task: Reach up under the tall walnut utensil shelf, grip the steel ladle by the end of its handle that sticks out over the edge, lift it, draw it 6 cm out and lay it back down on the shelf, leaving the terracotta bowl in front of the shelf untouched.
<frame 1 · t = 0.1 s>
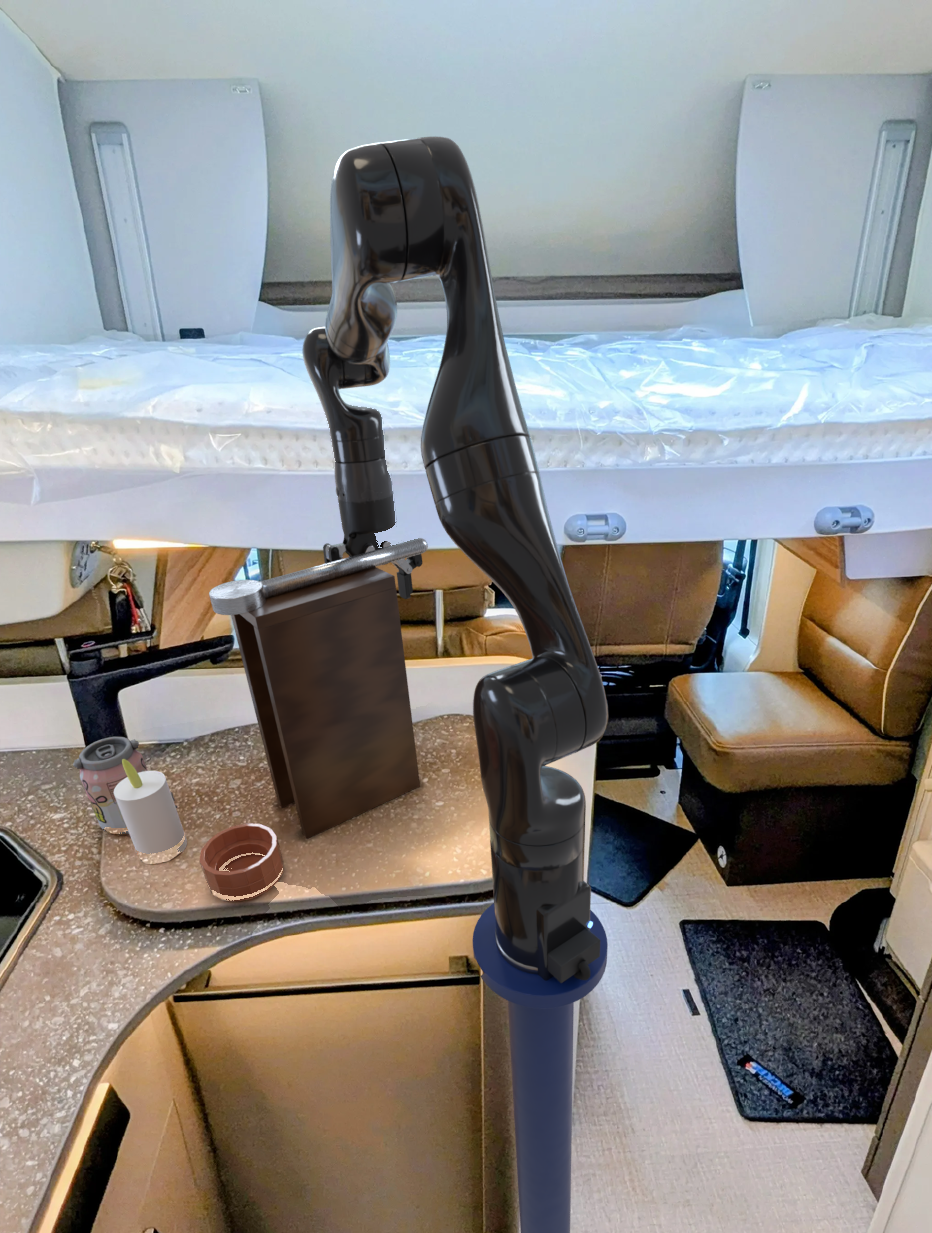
hand: (380, 605, 103), 23 cm above the worktop, tool pointing down, fingers open, 8 cm apart
candle: (164, 848, 95), on the worktop
ladle: (427, 551, 94), point 32 cm above the worktop, touching shelf
bowl: (247, 878, 88), on the worktop
shelf: (349, 794, 102), on the worktop
beverage can: (131, 818, 101), on the worktop
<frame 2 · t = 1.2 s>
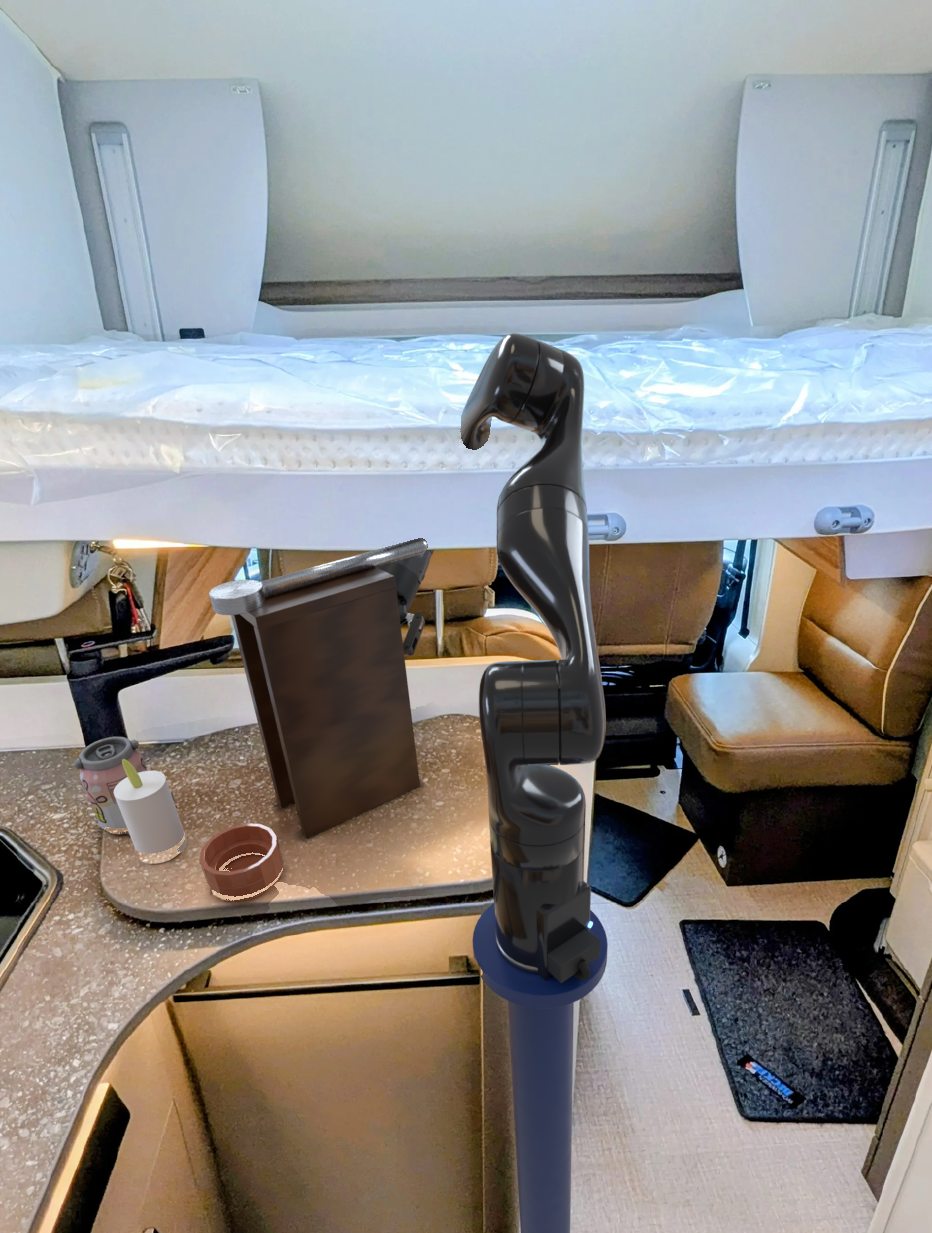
hand: (355, 666, 103), 16 cm above the worktop, tool tilted 50°, fingers open, 8 cm apart
nothing on the worktop moved.
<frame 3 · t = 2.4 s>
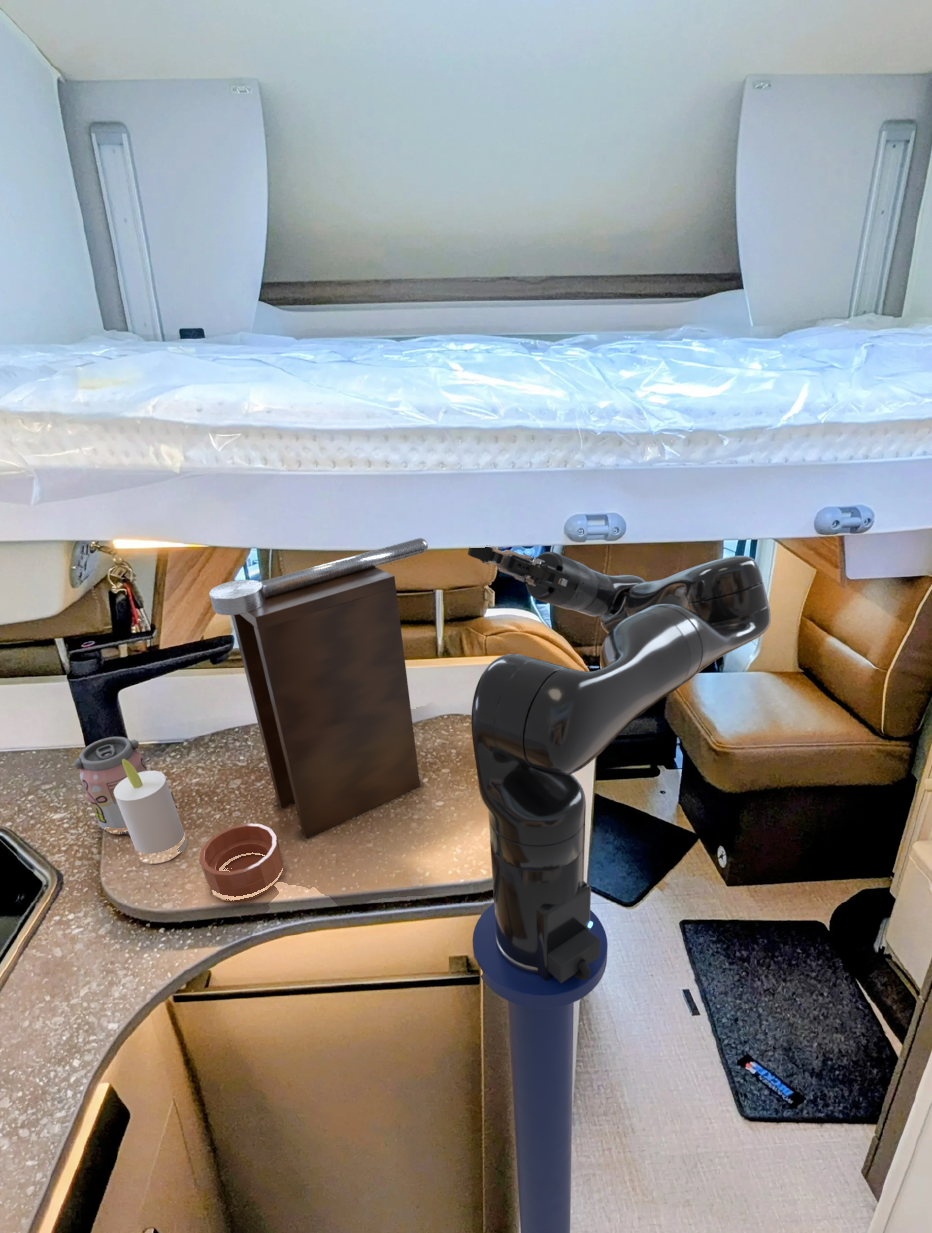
hand: (488, 554, 100), 29 cm above the worktop, tool pointing upward, fingers open, 8 cm apart
nothing on the worktop moved.
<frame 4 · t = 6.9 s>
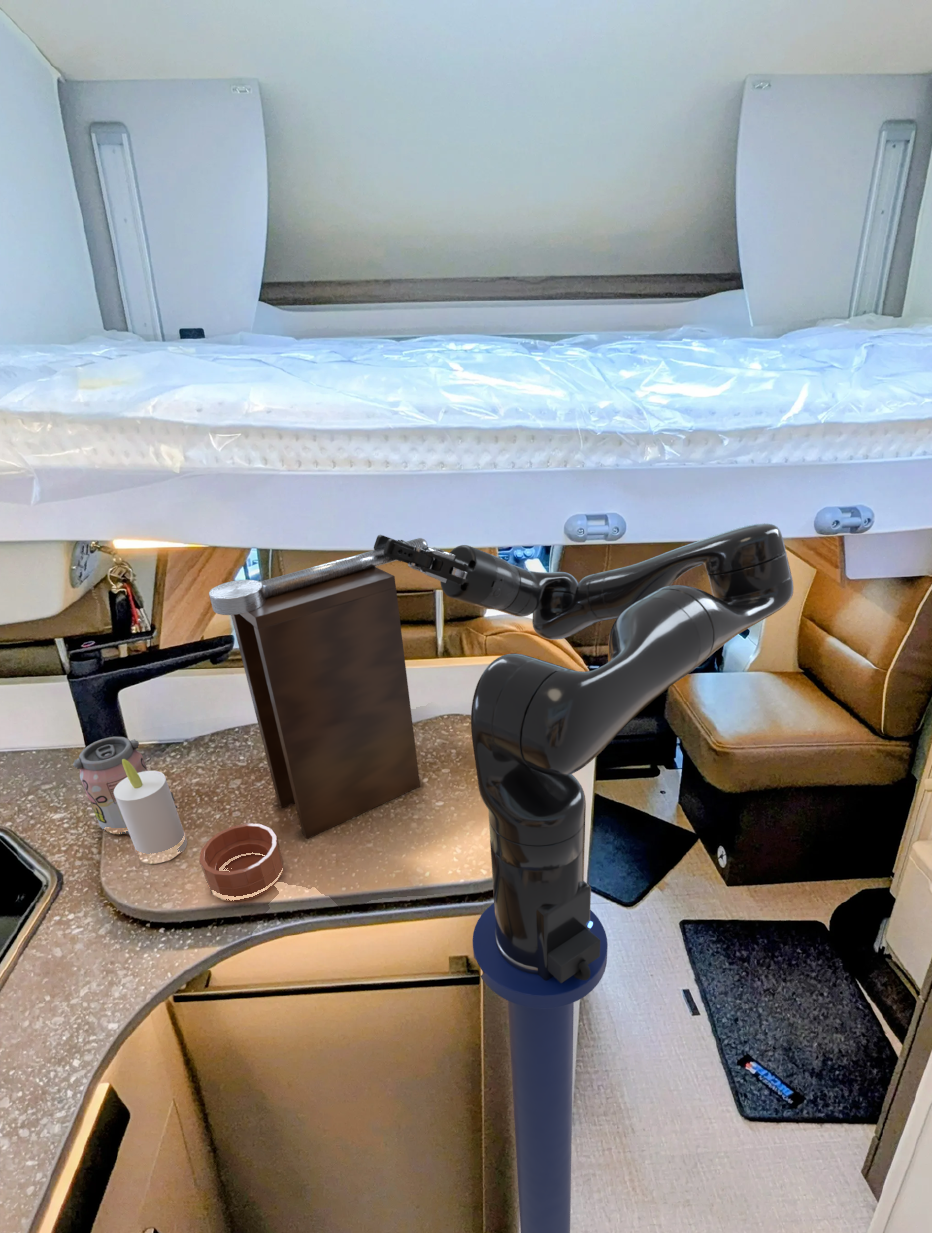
hand: (382, 544, 90), 34 cm above the worktop, tool pointing upward, fingers closed on ladle, 2 cm apart
ladle: (427, 551, 94), point 32 cm above the worktop, touching gripper, shelf
everything else where it was.
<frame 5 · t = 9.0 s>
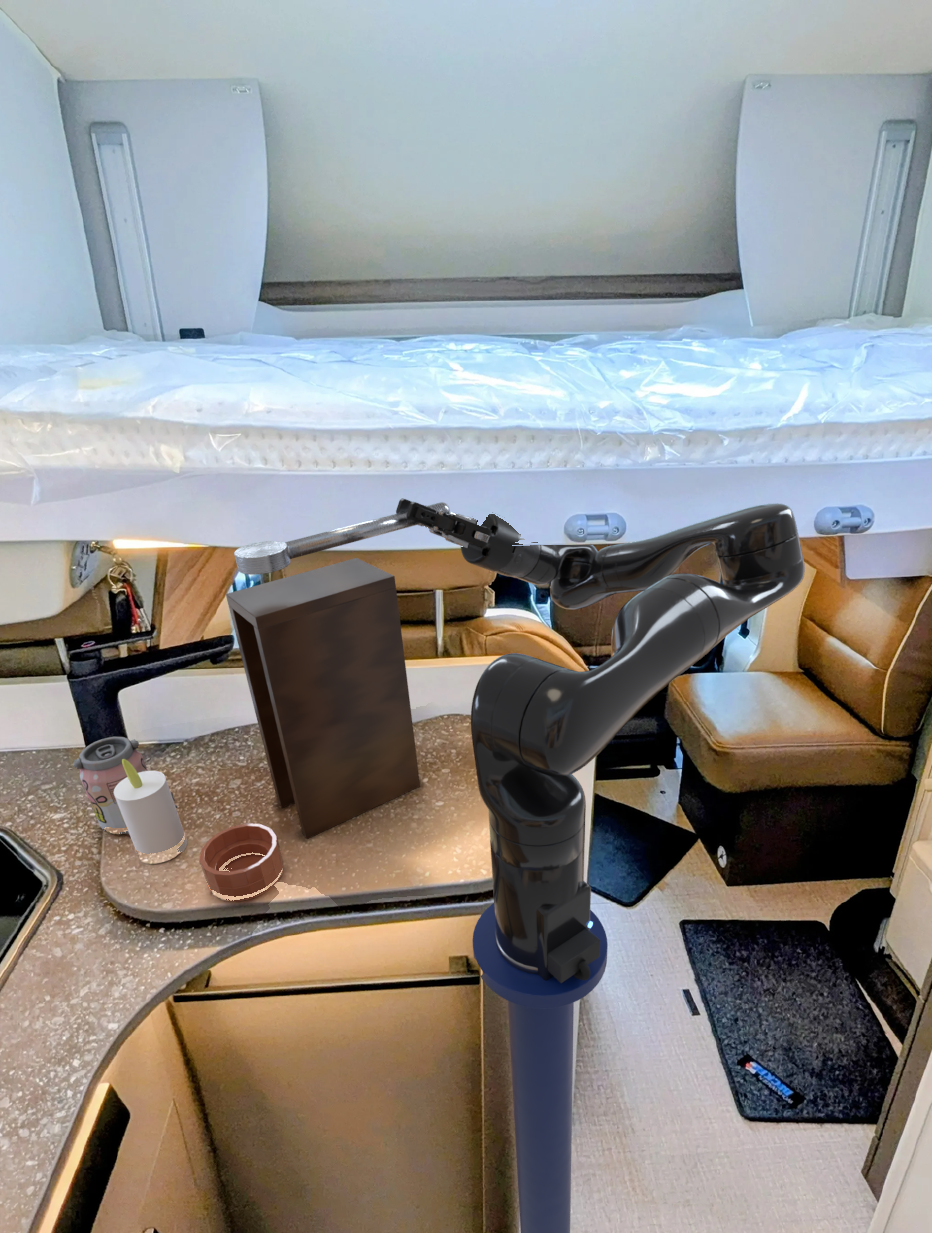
hand: (404, 508, 89), 38 cm above the worktop, tool pointing upward, fingers closed on ladle
ladle: (448, 516, 94), point 36 cm above the worktop, touching gripper
everything else where it was.
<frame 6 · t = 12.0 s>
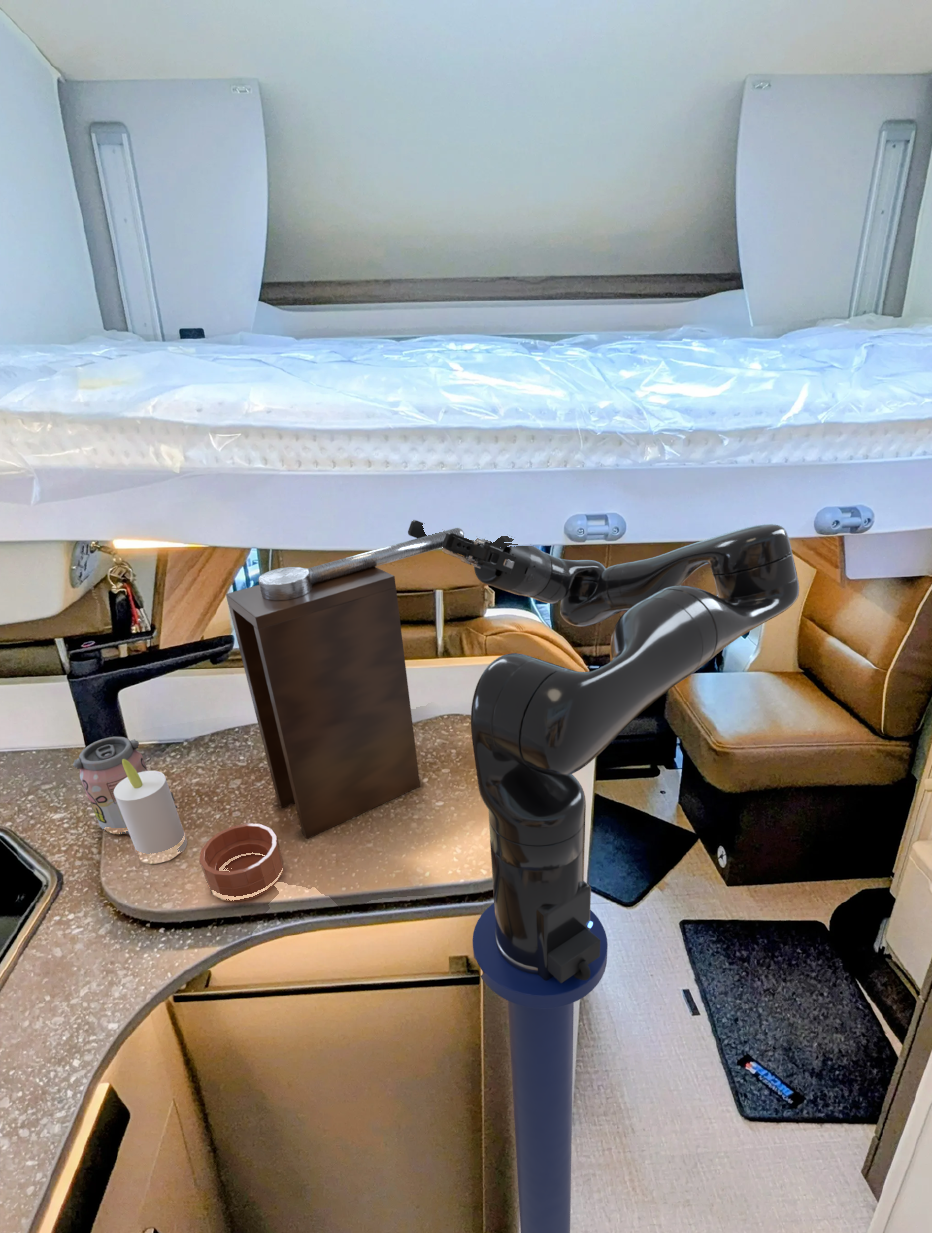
hand: (427, 533, 93), 34 cm above the worktop, tool pointing upward, fingers open, 8 cm apart
ladle: (463, 540, 97), point 32 cm above the worktop, touching shelf
everything else where it was.
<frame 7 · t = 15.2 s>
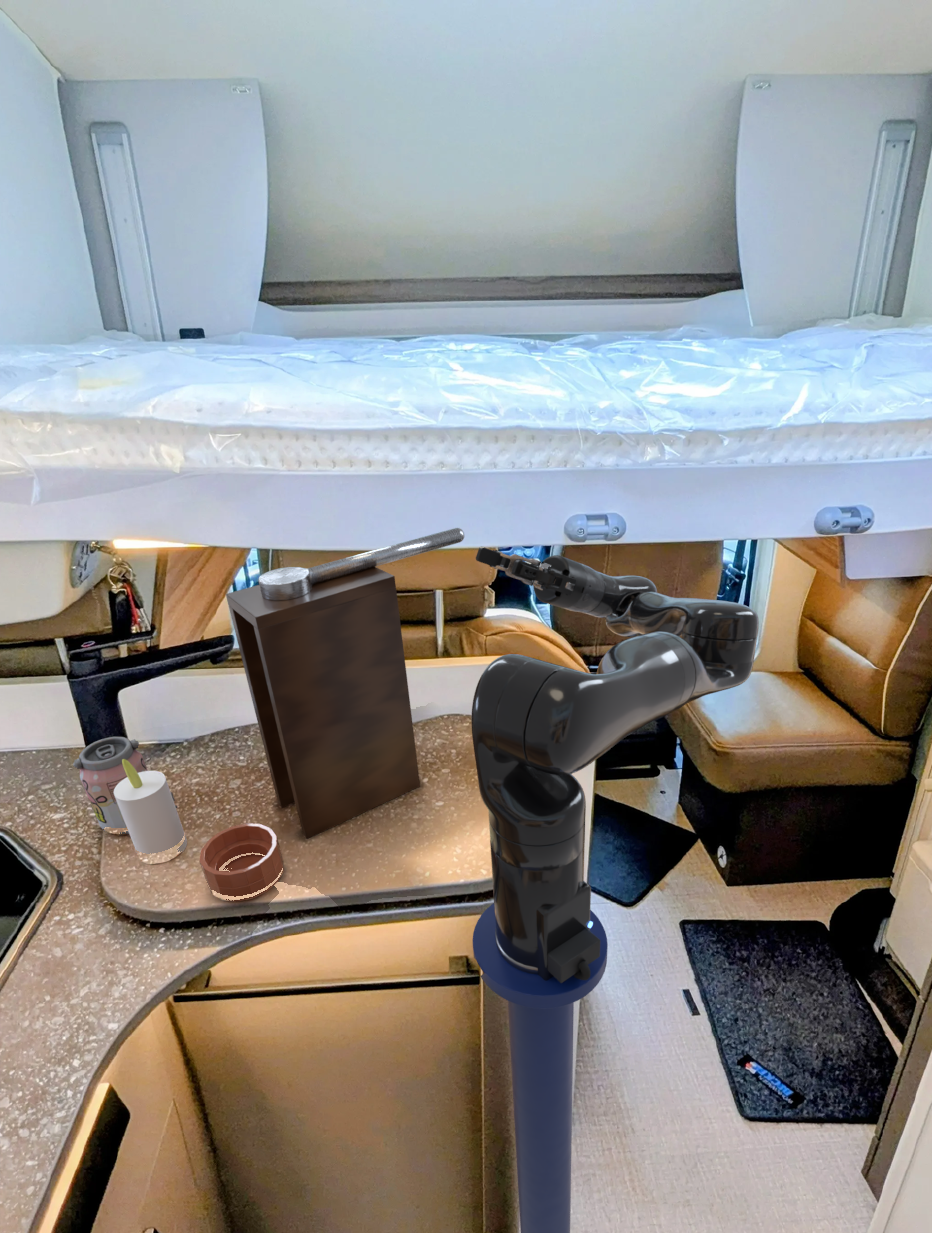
hand: (496, 560, 102), 28 cm above the worktop, tool pointing upward, fingers open, 8 cm apart
nothing on the worktop moved.
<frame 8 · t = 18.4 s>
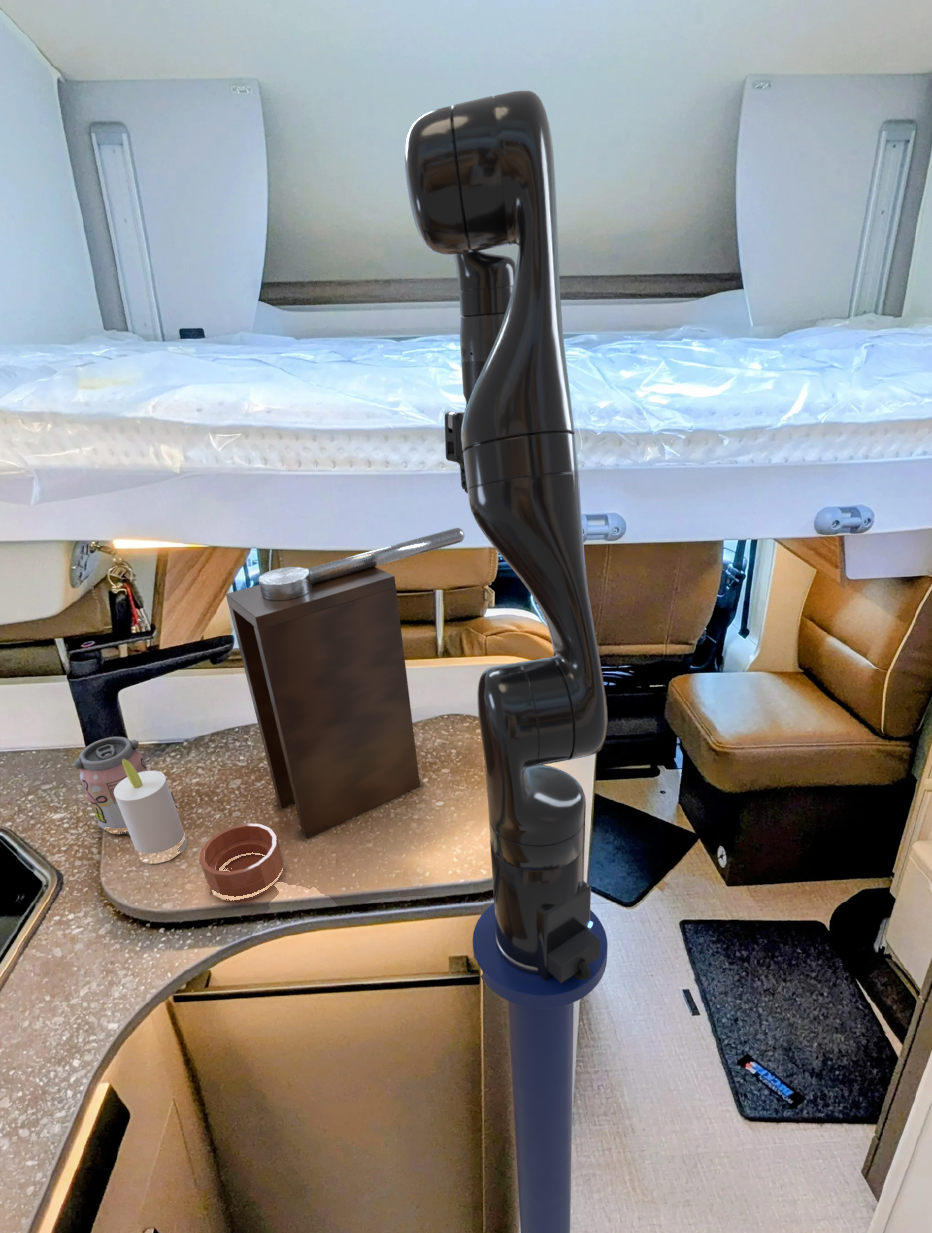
hand: (496, 486, 96), 38 cm above the worktop, tool pointing down, fingers open, 8 cm apart
nothing on the worktop moved.
at the end: ladle moved 6.0 cm from its start; ladle inside the target area on the shelf (0.0 cm from its centre), point 32.0 cm above the shelf's base; bowl moved 0.0 cm from its start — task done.
